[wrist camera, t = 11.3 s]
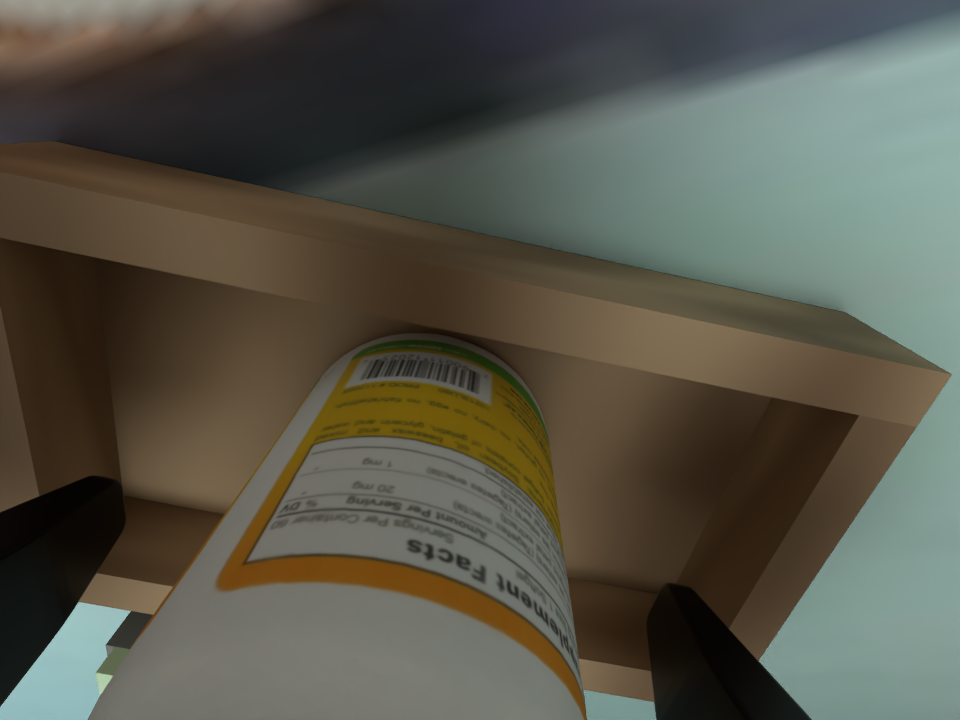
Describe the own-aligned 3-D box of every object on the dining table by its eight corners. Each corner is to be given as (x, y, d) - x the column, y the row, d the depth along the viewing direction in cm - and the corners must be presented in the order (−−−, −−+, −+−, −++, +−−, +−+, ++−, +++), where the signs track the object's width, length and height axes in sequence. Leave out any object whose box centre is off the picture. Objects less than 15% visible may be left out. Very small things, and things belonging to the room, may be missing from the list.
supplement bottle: (407, 559, 13) (218, 1414, 5) (258, 407, 12) (-515, 1326, 3) (593, 466, 12) (841, 1472, 3) (454, 275, 10) (109, 1363, 1)
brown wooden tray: (846, 312, 11) (951, 374, 8) (684, 609, 15) (722, 714, 12) (53, 141, 10) (-102, 150, 7) (103, 502, 14) (13, 590, 11)
